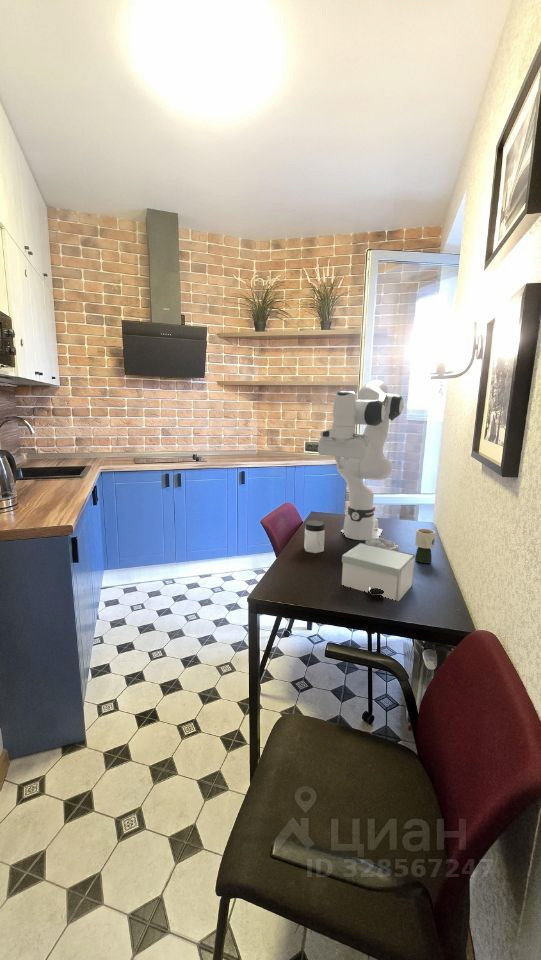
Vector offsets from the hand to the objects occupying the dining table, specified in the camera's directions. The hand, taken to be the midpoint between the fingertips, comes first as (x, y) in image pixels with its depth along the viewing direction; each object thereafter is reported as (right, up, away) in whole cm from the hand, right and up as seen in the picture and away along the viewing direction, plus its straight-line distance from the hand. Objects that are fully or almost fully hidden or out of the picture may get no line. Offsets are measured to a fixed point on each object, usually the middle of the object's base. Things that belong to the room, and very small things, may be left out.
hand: (341, 468), depth 163 cm
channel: (+9, -41, -18) cm, 46 cm away
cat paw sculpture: (+16, -38, +4) cm, 41 cm away
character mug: (+34, -38, +4) cm, 51 cm away
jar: (-9, -35, +15) cm, 39 cm away
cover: (+9, -33, -21) cm, 40 cm away
